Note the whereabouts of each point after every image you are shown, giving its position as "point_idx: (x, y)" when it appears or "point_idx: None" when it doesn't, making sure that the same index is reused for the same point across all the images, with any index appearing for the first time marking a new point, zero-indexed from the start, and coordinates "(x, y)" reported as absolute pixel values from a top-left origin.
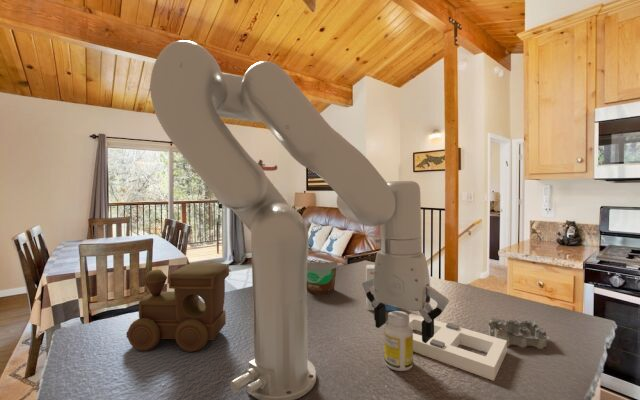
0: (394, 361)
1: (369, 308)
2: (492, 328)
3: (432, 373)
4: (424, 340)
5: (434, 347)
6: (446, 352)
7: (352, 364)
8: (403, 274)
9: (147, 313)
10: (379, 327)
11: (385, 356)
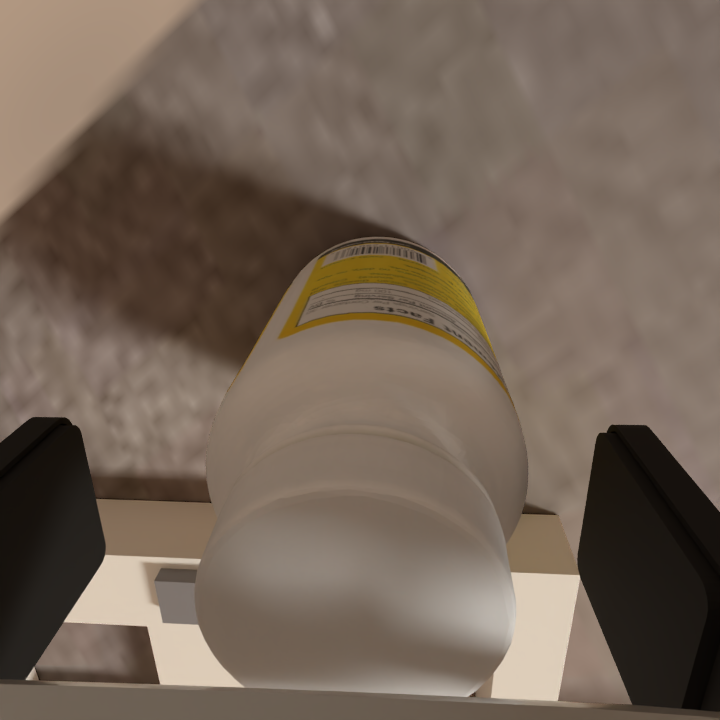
0: (353, 250)
1: None
2: None
3: (164, 366)
4: (32, 424)
5: None
6: (129, 549)
7: (680, 88)
8: None
9: None
10: (597, 439)
11: (450, 275)
